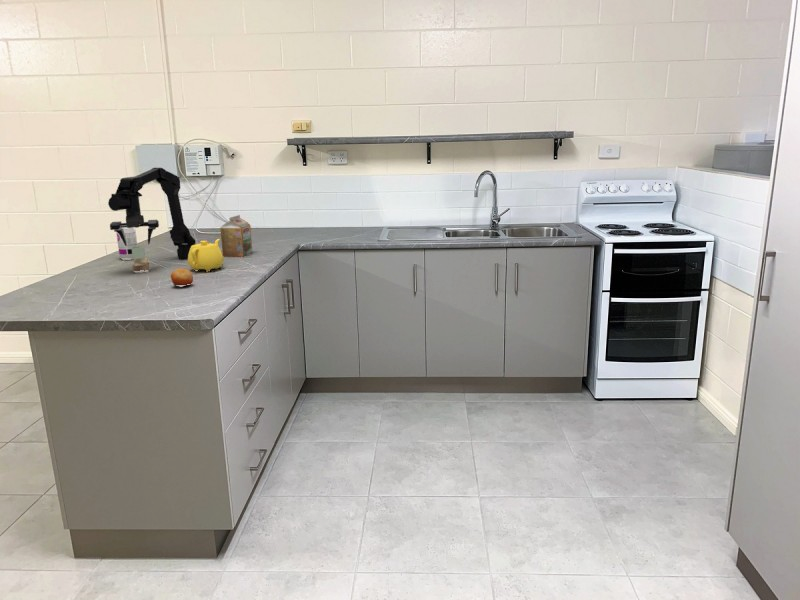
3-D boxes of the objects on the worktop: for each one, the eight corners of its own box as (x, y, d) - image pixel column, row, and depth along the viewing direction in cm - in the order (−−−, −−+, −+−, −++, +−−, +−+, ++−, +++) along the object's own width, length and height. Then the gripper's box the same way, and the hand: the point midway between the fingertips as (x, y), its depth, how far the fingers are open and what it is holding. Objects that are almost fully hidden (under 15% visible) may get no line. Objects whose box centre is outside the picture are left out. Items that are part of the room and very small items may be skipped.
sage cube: (145, 256, 266) (143, 246, 264) (144, 258, 261) (143, 247, 260) (134, 257, 264) (132, 246, 263) (133, 259, 260) (131, 248, 259)
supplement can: (118, 261, 288) (114, 229, 284) (121, 258, 296) (117, 227, 292) (137, 260, 290) (133, 228, 286) (139, 257, 298) (135, 226, 294)
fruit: (183, 278, 244) (187, 263, 239) (193, 291, 241) (198, 275, 236) (164, 282, 238) (168, 266, 233) (175, 295, 235) (179, 279, 230)
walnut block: (149, 270, 268) (148, 262, 268) (148, 273, 263) (147, 265, 262) (135, 271, 267) (134, 263, 266) (133, 274, 261) (132, 266, 260)
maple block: (148, 262, 267) (147, 256, 266) (147, 265, 262) (146, 258, 262) (135, 263, 266) (134, 256, 265) (134, 265, 261) (133, 259, 260)
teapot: (180, 273, 261) (177, 243, 258) (209, 263, 279) (206, 236, 276) (207, 274, 257) (204, 244, 253) (235, 265, 275) (232, 237, 272)
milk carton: (243, 257, 293) (239, 217, 288) (222, 257, 295) (219, 217, 290) (252, 253, 303) (249, 214, 298) (232, 252, 305) (229, 214, 300)
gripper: (105, 211, 247) (111, 249, 251) (155, 209, 253) (159, 246, 257) (109, 208, 258) (114, 245, 262) (156, 206, 263) (161, 242, 267)
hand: (137, 244), depth 261 cm, fingers open, 9 cm apart
